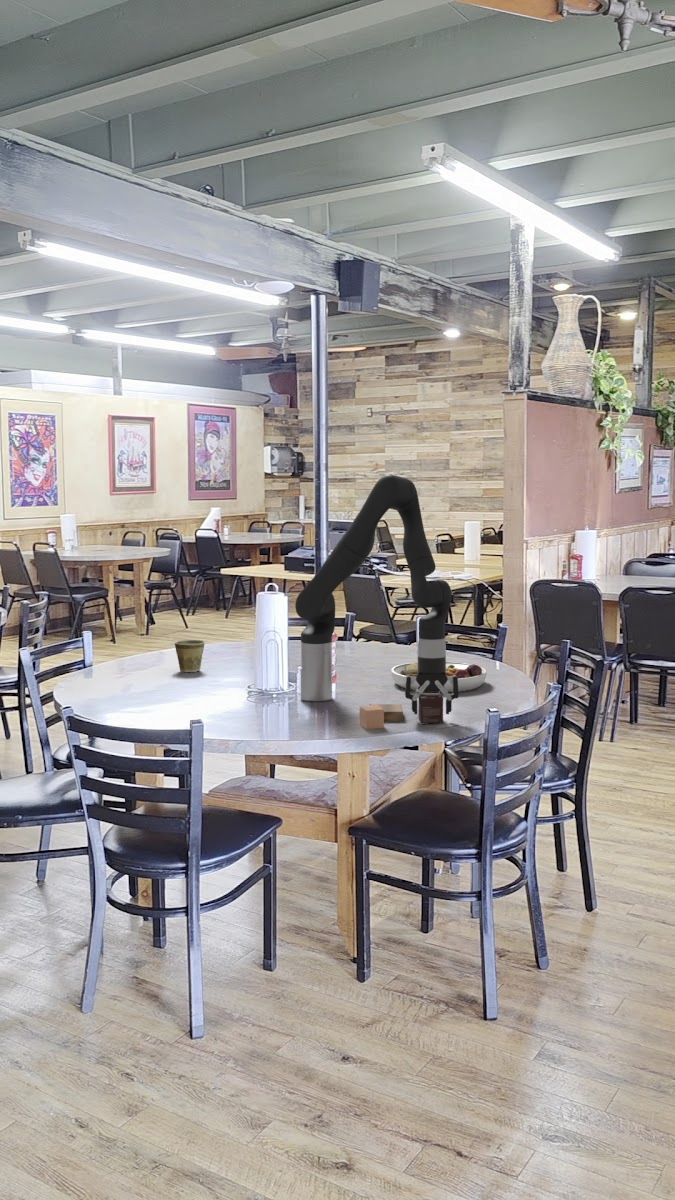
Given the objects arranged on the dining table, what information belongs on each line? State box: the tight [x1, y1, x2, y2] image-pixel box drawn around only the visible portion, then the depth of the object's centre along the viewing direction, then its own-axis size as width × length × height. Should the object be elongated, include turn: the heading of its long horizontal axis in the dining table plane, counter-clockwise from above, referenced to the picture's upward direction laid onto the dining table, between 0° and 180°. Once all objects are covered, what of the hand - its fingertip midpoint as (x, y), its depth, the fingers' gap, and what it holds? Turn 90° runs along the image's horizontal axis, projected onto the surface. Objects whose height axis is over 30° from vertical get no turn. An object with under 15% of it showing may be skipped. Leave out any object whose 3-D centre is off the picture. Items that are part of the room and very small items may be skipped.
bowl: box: [391, 661, 487, 693], centre depth 320 cm, size 30×30×8 cm
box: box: [418, 692, 444, 724], centre depth 272 cm, size 6×6×7 cm
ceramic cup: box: [174, 639, 205, 673], centre depth 345 cm, size 13×10×10 cm
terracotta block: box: [359, 705, 385, 730], centre depth 267 cm, size 5×5×5 cm
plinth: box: [368, 703, 404, 722], centre depth 277 cm, size 9×9×3 cm
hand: (431, 713), depth 272 cm, fingers open, 8 cm apart
